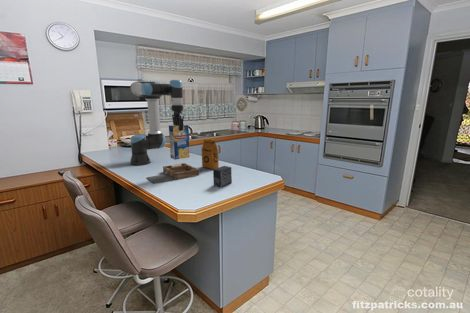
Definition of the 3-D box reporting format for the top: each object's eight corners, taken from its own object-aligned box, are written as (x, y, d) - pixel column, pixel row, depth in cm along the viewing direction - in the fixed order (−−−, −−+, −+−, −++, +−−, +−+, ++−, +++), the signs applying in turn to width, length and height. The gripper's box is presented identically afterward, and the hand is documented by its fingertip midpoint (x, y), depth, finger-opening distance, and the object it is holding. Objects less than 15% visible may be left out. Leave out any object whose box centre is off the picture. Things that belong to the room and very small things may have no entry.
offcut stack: (168, 171, 182) (168, 165, 181) (181, 169, 187) (181, 164, 186) (170, 173, 179) (169, 167, 178) (183, 171, 184) (183, 165, 183)
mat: (146, 178, 167) (146, 177, 167) (166, 174, 175) (166, 173, 175) (153, 183, 156) (153, 182, 156) (175, 179, 164) (175, 178, 164)
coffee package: (211, 170, 185) (211, 141, 180) (200, 167, 193) (199, 139, 188) (220, 167, 192) (220, 139, 187) (209, 165, 200) (209, 137, 195)
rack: (163, 171, 181) (163, 166, 180) (184, 168, 191) (184, 163, 190) (176, 179, 164) (175, 173, 163) (199, 175, 174) (198, 169, 173)
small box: (224, 181, 162) (224, 165, 159) (232, 183, 158) (232, 167, 155) (212, 185, 154) (212, 168, 151) (220, 187, 150) (220, 170, 147)
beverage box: (170, 157, 170) (168, 125, 165) (185, 155, 177) (183, 124, 172) (174, 159, 165) (173, 126, 160) (189, 157, 172) (188, 125, 167)
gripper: (167, 104, 166) (169, 139, 172) (176, 105, 155) (178, 142, 160) (177, 104, 171) (179, 138, 176) (187, 105, 159) (189, 141, 165)
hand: (178, 140), depth 168 cm, fingers closed on beverage box, 2 cm apart
